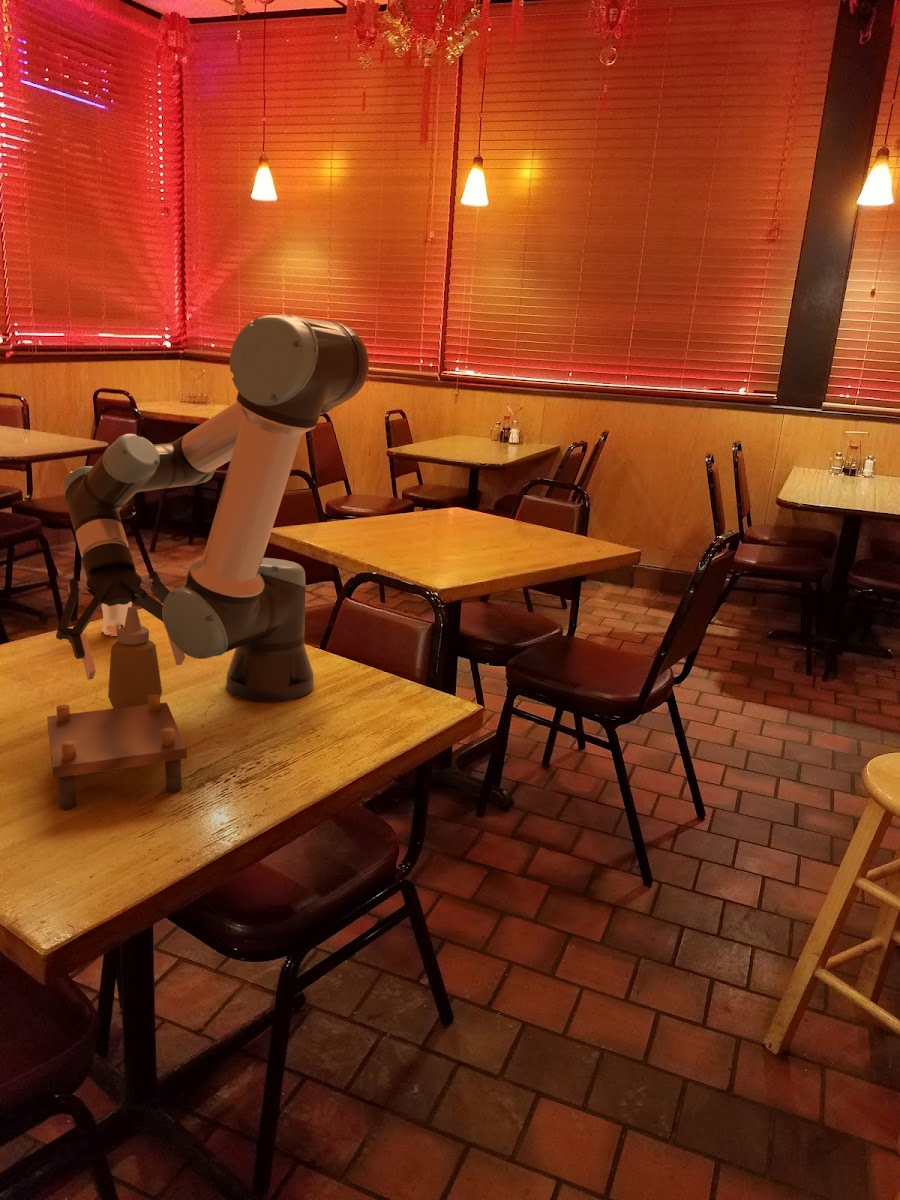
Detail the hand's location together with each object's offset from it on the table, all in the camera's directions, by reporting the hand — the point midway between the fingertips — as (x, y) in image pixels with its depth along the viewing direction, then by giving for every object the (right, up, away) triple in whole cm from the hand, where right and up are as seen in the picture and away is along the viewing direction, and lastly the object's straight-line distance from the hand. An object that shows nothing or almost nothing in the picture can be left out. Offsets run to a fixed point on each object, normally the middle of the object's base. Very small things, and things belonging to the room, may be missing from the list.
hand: (137, 668), depth 130 cm
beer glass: (-20, +4, +41) cm, 46 cm away
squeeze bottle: (-2, -8, +4) cm, 9 cm away
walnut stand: (+3, -13, -15) cm, 20 cm away
